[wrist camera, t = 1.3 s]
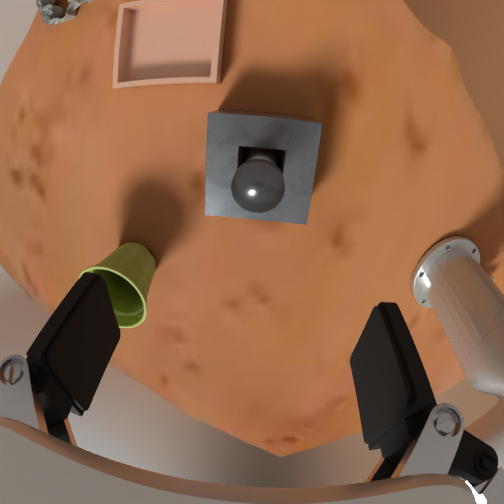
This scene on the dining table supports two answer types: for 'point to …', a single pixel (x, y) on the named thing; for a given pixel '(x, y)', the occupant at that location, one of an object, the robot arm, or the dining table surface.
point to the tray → (169, 42)
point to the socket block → (262, 136)
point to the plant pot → (127, 281)
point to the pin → (258, 182)
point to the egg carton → (58, 10)
